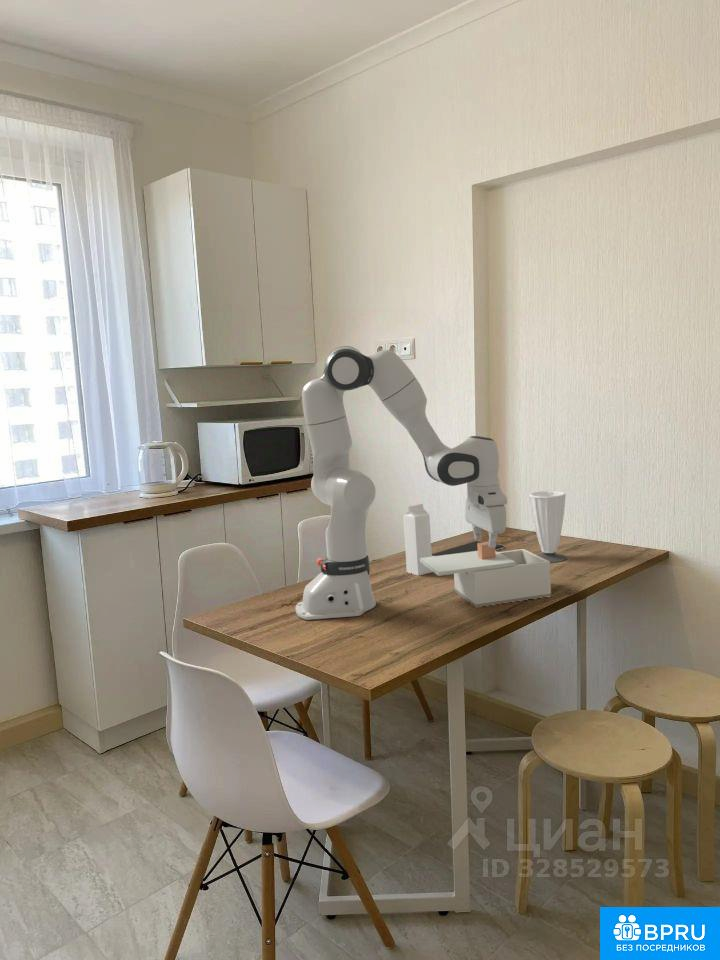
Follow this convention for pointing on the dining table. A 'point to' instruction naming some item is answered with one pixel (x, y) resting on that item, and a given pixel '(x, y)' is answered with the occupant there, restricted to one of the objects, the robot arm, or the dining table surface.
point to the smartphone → (464, 549)
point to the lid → (467, 561)
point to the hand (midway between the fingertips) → (485, 543)
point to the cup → (548, 522)
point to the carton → (506, 580)
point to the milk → (417, 539)
